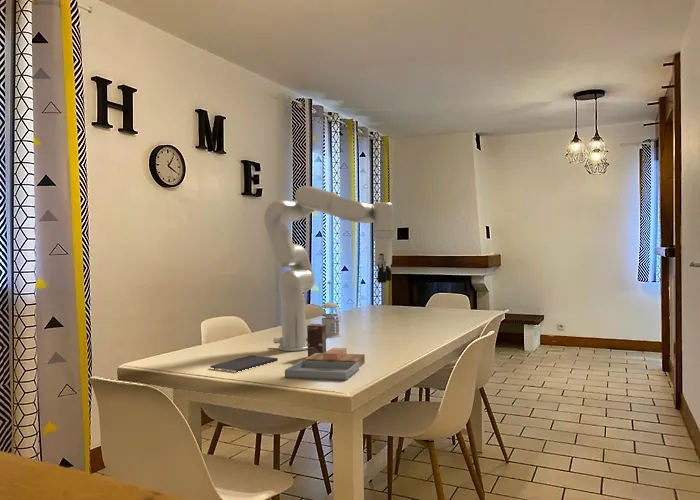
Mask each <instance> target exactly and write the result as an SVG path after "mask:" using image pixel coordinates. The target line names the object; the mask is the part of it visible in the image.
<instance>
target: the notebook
mask: <svg viewBox="0 0 700 500" xmlns="http://www.w3.org/2000/svg"><path fill="white" fill-rule="evenodd" d="M275 361H276V362H278V357H270V356H263V355H253V354H251V355H250V354H249V355H246V356H243V357H239V358H238V357H237V358H234V359H231V360H228V361H224V362H219V363H217V364H212V365H210V366H209V367H210V369H211V368H214V369H221V370H229V371H235V372H238V371H241V372H243V371H242V370H245V369H248V370H250V369H249V368H252V367H255V368H257V367H256V366H258V367H261V366H260V365H262V366H265V365H268V364H267V363H269V364H272V363H275ZM271 362H272V363H271ZM264 364H265V365H264ZM252 369H253V368H252ZM245 371H246V370H245ZM235 372H234V373H235ZM238 373H239V372H238Z"/></svg>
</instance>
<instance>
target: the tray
mask: <svg viewBox="0 0 700 500" xmlns="http://www.w3.org/2000/svg"><path fill="white" fill-rule="evenodd" d="M359 371H360V367H359V363H355V362H328V361H305V360H300V361H297V362H296V363H295V364H293V365H290V366H289V367H288V368H285V369H284V378H285V379H298V380H299V379H301V380H303V379H305V380H321V381H322V380H325V381H326V380H327V381H341V382H342V381H344V382H345V381H348V380H349V379H350V378H352V377H353V376H354V375H355V374H356V373H357V372H359Z"/></svg>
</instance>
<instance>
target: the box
mask: <svg viewBox="0 0 700 500" xmlns="http://www.w3.org/2000/svg"><path fill="white" fill-rule="evenodd" d="M306 340H307V344H308V349H307V357H309V356H311V355H313V354H314V353H325V352H326V351H327V338H326V325H325V324H322V323H310V324H308V325H306Z"/></svg>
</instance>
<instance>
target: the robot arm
mask: <svg viewBox="0 0 700 500" xmlns="http://www.w3.org/2000/svg"><path fill="white" fill-rule="evenodd" d="M294 196H295V197H294V198H295V199H294V200H288V199H276V200H273V201H272V202H271V203H269V204H268V206H267V207H266V209H265V211H264V215H263V221H264V226H265V229H266V232H267V235H268V238H269V242H270V245H271V250H272V254H273V257H274V261H275V263H276V264H277V265H278V266H279V267H280V268H289V270H286V271H284V272H283V273H281V275H280V276H279V278H278V279H279V280H278V289H279V294H280V302H281V304H280V305H281V335H282V336H281V337H274V338H273V343H274V344H279V345H278V350H280V351H285V352H300V351H301V352H302V351H305V350H308V343H307V322H306V320H307V319H306V301H305V296H304V292H309V291H310V290H311V289H312V288H313V287H314V285H315V276H314V272H313V268H312V265H311V262H310V258H309V254H308V253H307V250H306V249H305V248H304V246H302V245H300V244H297V243H293V239H292V236H291V232H290V230H289V229H288V227H287V225H286V224H285V222H297V221H300V220H302V219H304V218H305V217H307V216H308V215H310V214H312V213H314V212H315V211H316V212H321V213H324V214H327V215H329V216H334V217H335V218H339V219H344V220H346V221H350V222H354V223H359V224H360V223H362V224H370V223H373V240H374V241H375V243H374V246H375V247H374V266H375V267H377V272H376V273H377V274H376V275H377V283H380V284H381V283H385V284H386V283H387V282H390V281H392V267H391V266H392V264H393V251H392V250H393V249H392V248H393V247H392V244H393V243H392V240H394V239H395V231H394V230H395V227H394V224H395V223H394V222H395V221H394V220H395V219H394V218H395V217H394V205H393V203H392V202H387V201H386V202H385V201H383V202H382V201H381V202H376V203H367V202H362V201H361V202H360V201H356V200H352V199H349V198H344V197H342V196H339V195H338V194H337V193H335V192H332V191H328V190H324V189H321V188H319V187H315V186H309V185H302V186H301V187H299V188H298V189H296V191H295V195H294Z"/></svg>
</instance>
